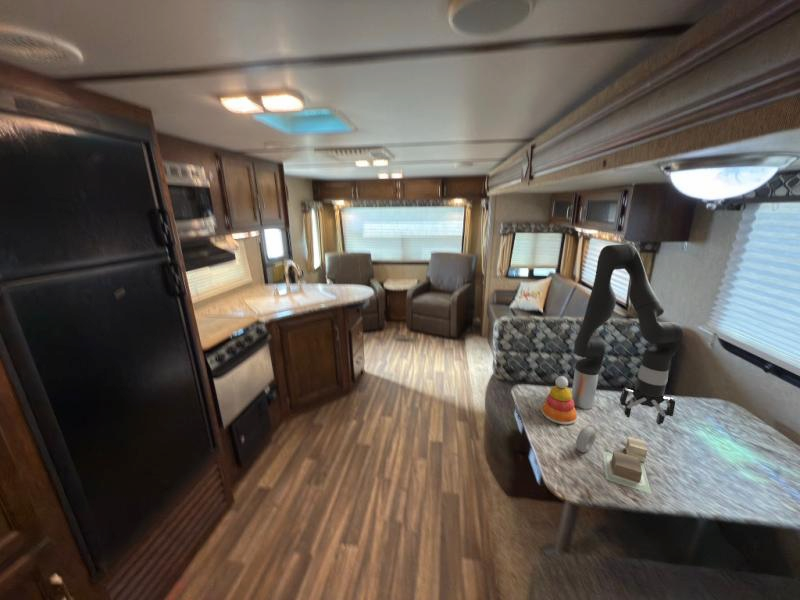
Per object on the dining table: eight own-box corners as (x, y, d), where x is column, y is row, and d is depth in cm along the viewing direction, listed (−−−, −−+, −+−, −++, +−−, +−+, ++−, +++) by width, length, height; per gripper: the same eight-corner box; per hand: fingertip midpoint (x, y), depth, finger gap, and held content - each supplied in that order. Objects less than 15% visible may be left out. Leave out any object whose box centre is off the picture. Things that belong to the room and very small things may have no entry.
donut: (581, 459, 109) (585, 436, 107) (572, 453, 112) (576, 430, 109) (595, 447, 115) (599, 425, 112) (585, 442, 117) (589, 420, 115)
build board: (602, 452, 112) (602, 450, 112) (642, 464, 106) (643, 462, 106) (605, 481, 100) (606, 478, 100) (651, 496, 95) (651, 493, 94)
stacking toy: (569, 407, 138) (575, 369, 133) (583, 428, 125) (590, 386, 119) (536, 405, 140) (541, 367, 135) (546, 425, 127) (552, 384, 121)
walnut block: (611, 459, 108) (613, 450, 107) (636, 467, 104) (638, 457, 103) (613, 474, 102) (615, 464, 101) (639, 482, 98) (642, 472, 97)
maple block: (624, 449, 113) (627, 436, 111) (641, 454, 111) (644, 441, 109) (626, 459, 109) (629, 445, 107) (644, 464, 107) (647, 450, 105)
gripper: (676, 378, 101) (665, 419, 105) (624, 368, 108) (616, 407, 112) (683, 389, 94) (671, 432, 99) (627, 378, 101) (619, 419, 106)
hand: (642, 419), depth 105 cm, fingers open, 8 cm apart
